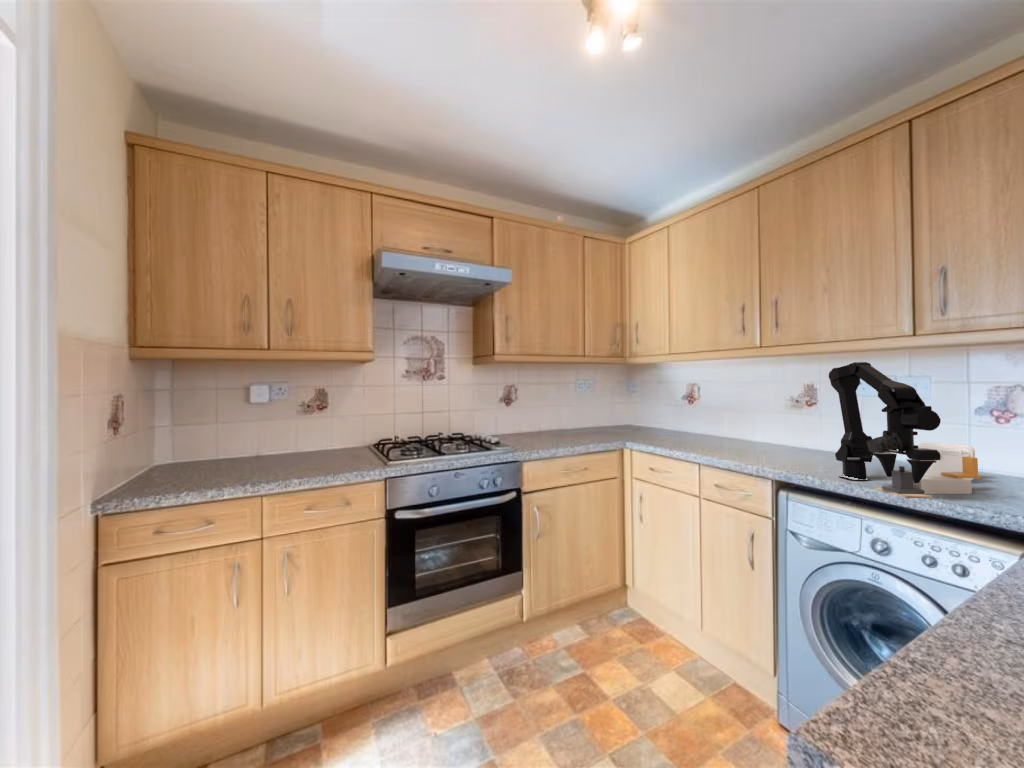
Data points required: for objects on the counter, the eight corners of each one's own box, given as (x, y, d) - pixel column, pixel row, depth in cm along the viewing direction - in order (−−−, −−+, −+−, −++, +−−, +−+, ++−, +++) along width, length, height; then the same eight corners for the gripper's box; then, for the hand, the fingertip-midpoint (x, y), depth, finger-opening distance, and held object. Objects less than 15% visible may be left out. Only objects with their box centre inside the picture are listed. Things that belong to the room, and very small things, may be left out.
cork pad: (875, 489, 130) (875, 487, 130) (899, 489, 129) (899, 487, 129) (907, 497, 119) (906, 496, 119) (932, 497, 118) (932, 496, 118)
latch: (941, 474, 130) (940, 456, 130) (964, 474, 129) (963, 456, 129) (957, 478, 125) (956, 458, 125) (981, 477, 124) (980, 458, 124)
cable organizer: (980, 480, 140) (978, 445, 140) (974, 484, 134) (972, 448, 134) (918, 473, 152) (917, 441, 153) (911, 477, 146) (909, 444, 147)
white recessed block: (892, 486, 133) (892, 474, 133) (938, 486, 132) (938, 473, 132) (921, 494, 123) (921, 480, 123) (971, 493, 122) (971, 480, 122)
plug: (882, 489, 127) (881, 464, 127) (906, 489, 127) (905, 464, 127) (899, 494, 121) (898, 468, 121) (924, 493, 121) (923, 468, 121)
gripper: (848, 425, 134) (850, 474, 134) (899, 430, 116) (901, 487, 115) (884, 425, 134) (886, 473, 133) (941, 430, 115) (943, 486, 115)
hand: (902, 479), depth 124 cm, fingers open, 9 cm apart
